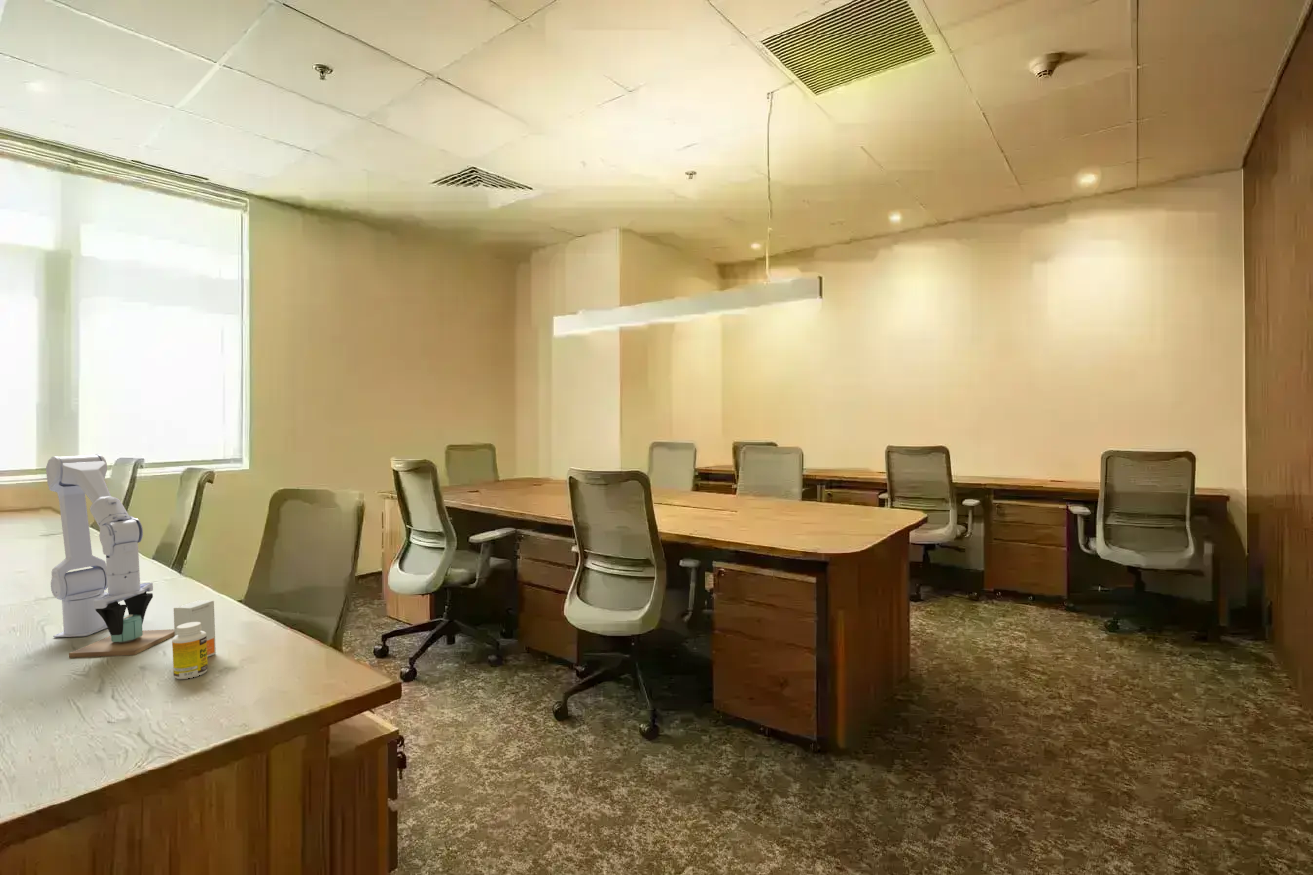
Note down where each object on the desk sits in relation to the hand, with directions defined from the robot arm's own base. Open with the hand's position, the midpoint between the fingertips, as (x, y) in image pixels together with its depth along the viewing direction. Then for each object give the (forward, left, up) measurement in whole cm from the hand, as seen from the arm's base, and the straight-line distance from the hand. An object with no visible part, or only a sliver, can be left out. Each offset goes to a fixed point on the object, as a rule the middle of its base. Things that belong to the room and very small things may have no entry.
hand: (126, 630), depth 144 cm
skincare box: (+11, +23, -4) cm, 26 cm away
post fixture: (0, 0, -3) cm, 3 cm away
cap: (0, 0, -2) cm, 2 cm away
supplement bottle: (+20, +28, -4) cm, 35 cm away
